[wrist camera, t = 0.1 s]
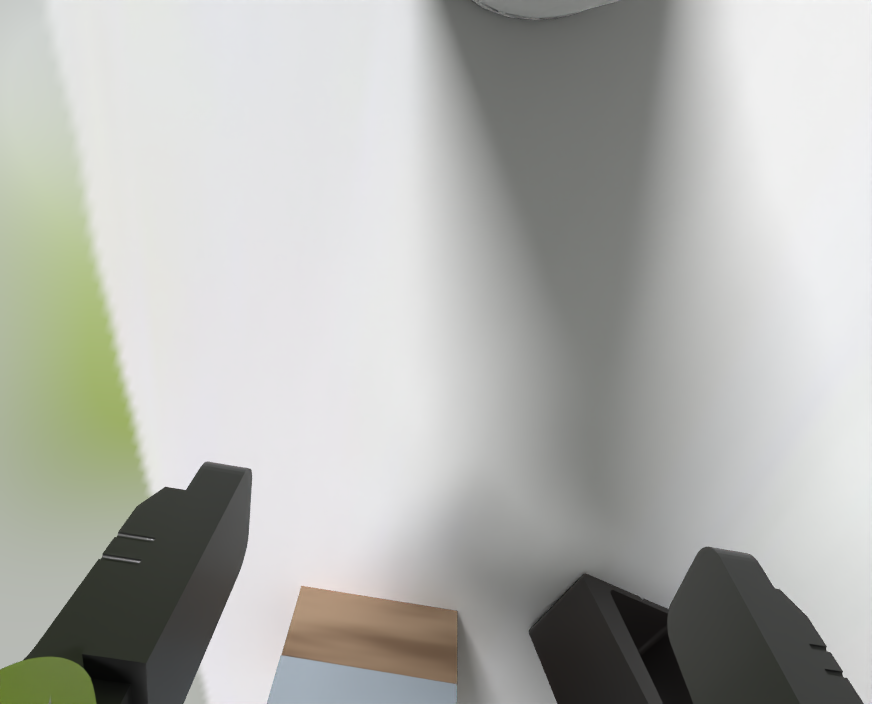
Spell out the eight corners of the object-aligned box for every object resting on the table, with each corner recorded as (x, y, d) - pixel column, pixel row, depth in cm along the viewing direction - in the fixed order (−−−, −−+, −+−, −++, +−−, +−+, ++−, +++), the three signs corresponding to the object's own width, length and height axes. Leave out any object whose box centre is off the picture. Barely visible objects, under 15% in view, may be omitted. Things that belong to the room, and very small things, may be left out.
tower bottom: (302, 582, 36) (281, 656, 32) (457, 607, 37) (457, 683, 33) (290, 677, 41) (270, 753, 37) (428, 698, 42) (424, 775, 37)
